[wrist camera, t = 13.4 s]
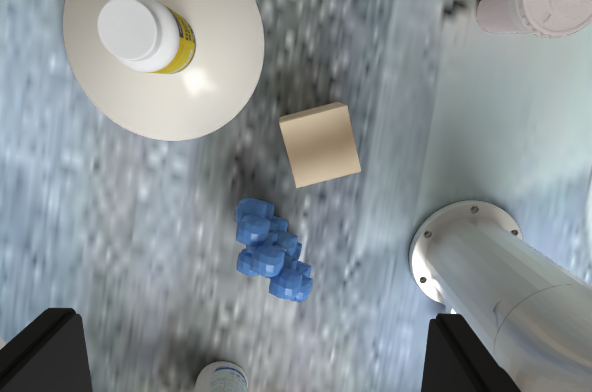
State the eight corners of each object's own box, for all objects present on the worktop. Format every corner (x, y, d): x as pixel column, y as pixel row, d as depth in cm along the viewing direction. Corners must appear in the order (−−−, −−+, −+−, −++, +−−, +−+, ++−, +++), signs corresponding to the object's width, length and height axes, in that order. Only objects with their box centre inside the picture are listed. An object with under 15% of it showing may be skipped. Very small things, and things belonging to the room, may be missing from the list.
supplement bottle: (210, 43, 36) (184, 30, 26) (171, 86, 37) (133, 89, 27) (163, -4, 34) (119, -35, 25) (125, 42, 35) (68, 29, 26)
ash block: (349, 158, 41) (361, 171, 35) (294, 173, 41) (296, 188, 35) (337, 101, 39) (347, 105, 33) (279, 116, 39) (279, 123, 34)
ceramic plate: (266, 138, 40) (266, 140, 38) (87, 139, 39) (79, 141, 38) (262, -65, 35) (261, -71, 33) (55, -68, 34) (46, -74, 33)
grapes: (213, 200, 41) (186, 247, 30) (267, 169, 41) (262, 205, 29) (269, 284, 45) (265, 356, 33) (321, 257, 44) (335, 320, 32)
